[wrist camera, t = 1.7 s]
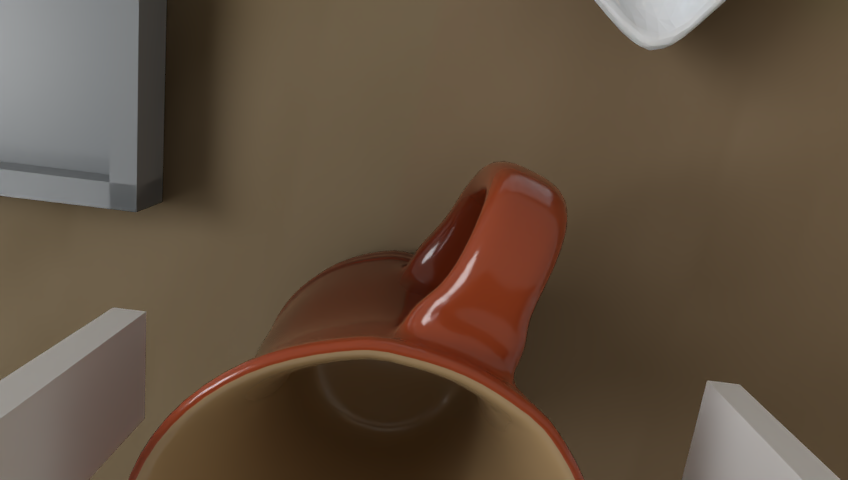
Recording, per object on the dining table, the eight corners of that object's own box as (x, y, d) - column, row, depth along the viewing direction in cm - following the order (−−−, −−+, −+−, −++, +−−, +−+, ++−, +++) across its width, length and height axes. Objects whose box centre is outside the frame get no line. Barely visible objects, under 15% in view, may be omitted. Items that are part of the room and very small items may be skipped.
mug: (446, 491, 22) (463, 816, 12) (226, 395, 21) (48, 660, 11) (611, 204, 20) (804, 314, 10) (369, 81, 19) (305, 63, 9)
